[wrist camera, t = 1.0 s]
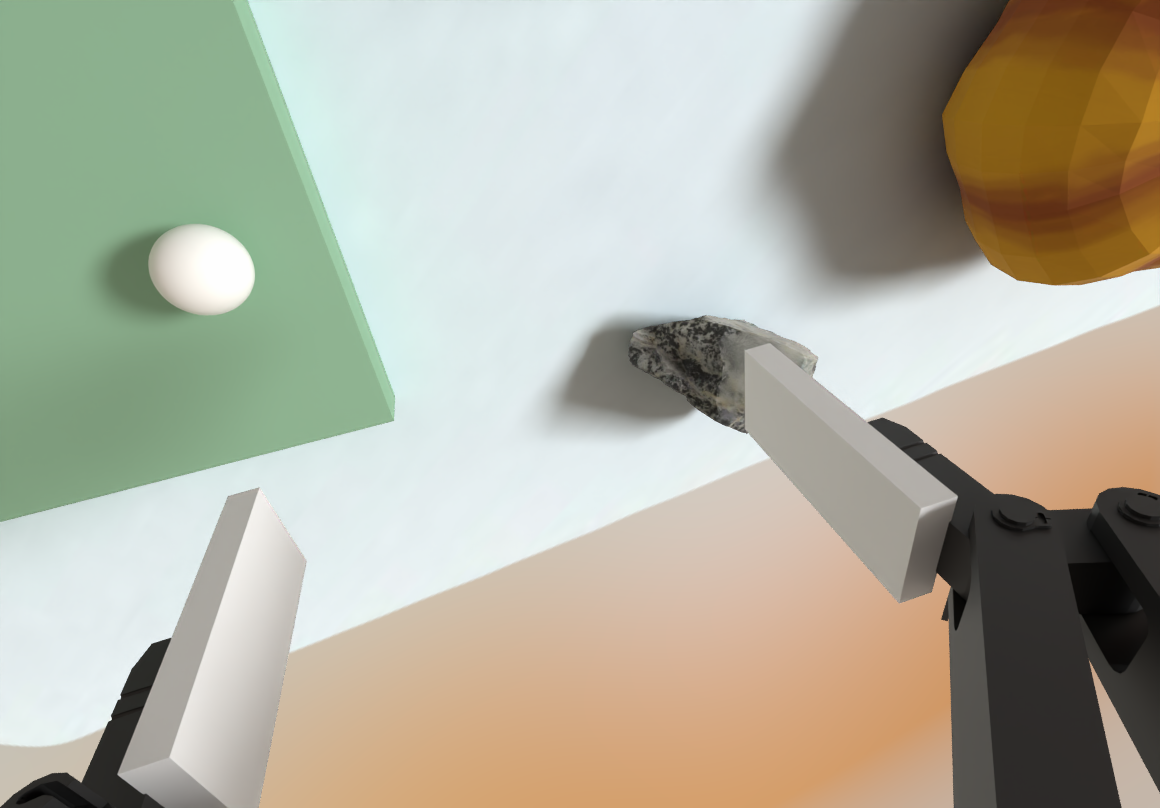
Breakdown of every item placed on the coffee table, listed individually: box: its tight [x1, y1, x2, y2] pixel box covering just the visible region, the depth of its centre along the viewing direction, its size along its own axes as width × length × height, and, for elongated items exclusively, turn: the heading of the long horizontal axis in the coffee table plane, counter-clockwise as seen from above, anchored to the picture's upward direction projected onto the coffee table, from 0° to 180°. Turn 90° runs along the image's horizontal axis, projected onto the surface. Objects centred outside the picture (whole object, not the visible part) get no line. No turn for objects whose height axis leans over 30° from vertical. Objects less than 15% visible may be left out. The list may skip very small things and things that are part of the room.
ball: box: [148, 224, 255, 316], centre depth 26 cm, size 4×4×4 cm
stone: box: [629, 315, 818, 434], centre depth 38 cm, size 10×10×10 cm
